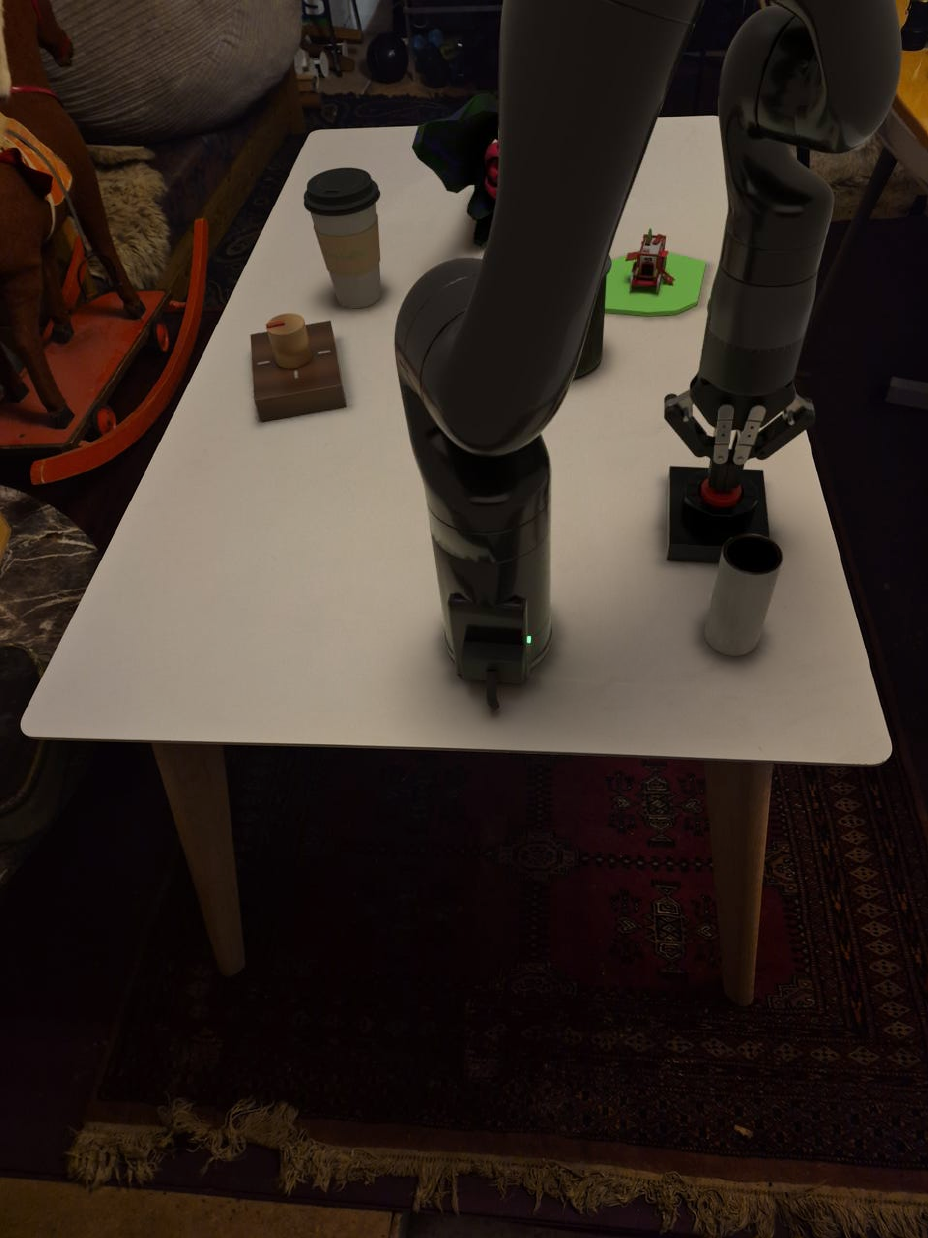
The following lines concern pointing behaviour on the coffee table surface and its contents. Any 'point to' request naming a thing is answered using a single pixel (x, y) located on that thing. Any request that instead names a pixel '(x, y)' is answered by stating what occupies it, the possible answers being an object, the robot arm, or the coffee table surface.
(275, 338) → the knob
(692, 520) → the button block
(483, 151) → the decorative plant
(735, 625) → the planter
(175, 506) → the coffee table surface
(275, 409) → the panel
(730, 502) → the button
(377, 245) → the coffee cup
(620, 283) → the toy diorama
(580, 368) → the mug
